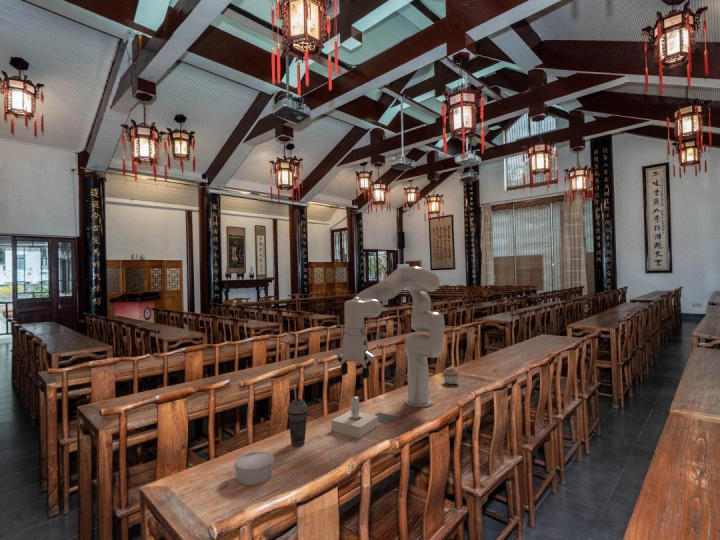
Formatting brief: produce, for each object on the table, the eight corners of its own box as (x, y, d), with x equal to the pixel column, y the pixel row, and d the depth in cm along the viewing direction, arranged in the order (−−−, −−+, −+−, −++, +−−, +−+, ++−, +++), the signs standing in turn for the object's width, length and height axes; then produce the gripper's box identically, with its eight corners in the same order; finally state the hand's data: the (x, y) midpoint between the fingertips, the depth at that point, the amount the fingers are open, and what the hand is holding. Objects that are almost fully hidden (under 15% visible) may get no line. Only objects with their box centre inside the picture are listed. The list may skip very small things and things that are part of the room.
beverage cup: (304, 449, 127) (303, 390, 128) (284, 448, 129) (283, 389, 129) (311, 440, 134) (310, 384, 135) (292, 439, 136) (291, 383, 136)
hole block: (350, 419, 154) (350, 410, 154) (378, 426, 147) (378, 416, 147) (331, 430, 143) (331, 420, 143) (360, 438, 136) (360, 427, 136)
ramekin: (259, 464, 118) (259, 447, 118) (282, 475, 111) (282, 457, 111) (226, 479, 109) (226, 460, 109) (249, 492, 102) (249, 473, 102)
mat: (378, 413, 161) (378, 412, 161) (399, 417, 156) (399, 416, 156) (366, 420, 153) (366, 419, 153) (388, 425, 147) (388, 424, 147)
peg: (354, 426, 147) (354, 395, 147) (360, 428, 145) (360, 396, 146) (349, 429, 144) (349, 397, 145) (356, 430, 143) (356, 399, 143)
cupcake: (441, 380, 211) (441, 363, 211) (459, 381, 209) (458, 363, 210) (442, 385, 202) (442, 366, 202) (460, 386, 200) (460, 367, 200)
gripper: (378, 332, 144) (379, 377, 144) (341, 329, 154) (342, 371, 153) (368, 334, 138) (368, 381, 137) (330, 331, 147) (331, 375, 147)
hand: (354, 376), depth 145 cm, fingers open, 9 cm apart
